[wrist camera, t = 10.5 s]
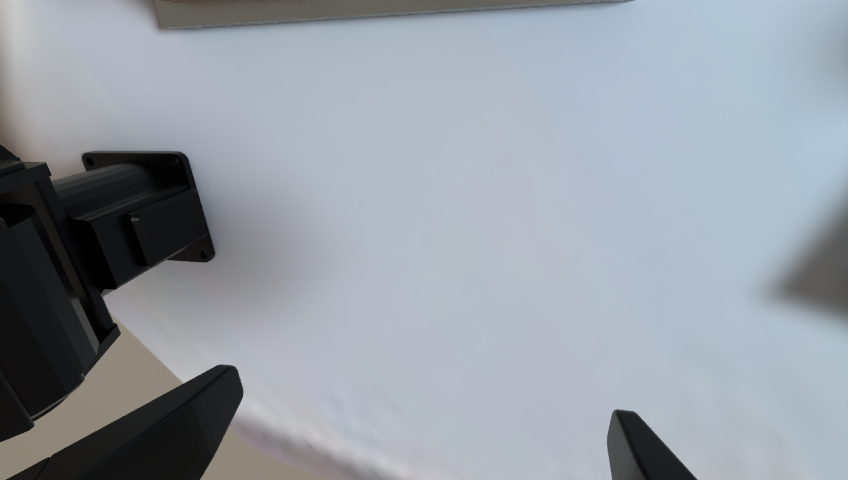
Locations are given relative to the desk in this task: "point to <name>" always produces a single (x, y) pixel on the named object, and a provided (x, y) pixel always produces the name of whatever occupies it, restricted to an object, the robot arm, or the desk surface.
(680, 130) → the desk surface
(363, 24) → the desk surface
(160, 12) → the base plate
